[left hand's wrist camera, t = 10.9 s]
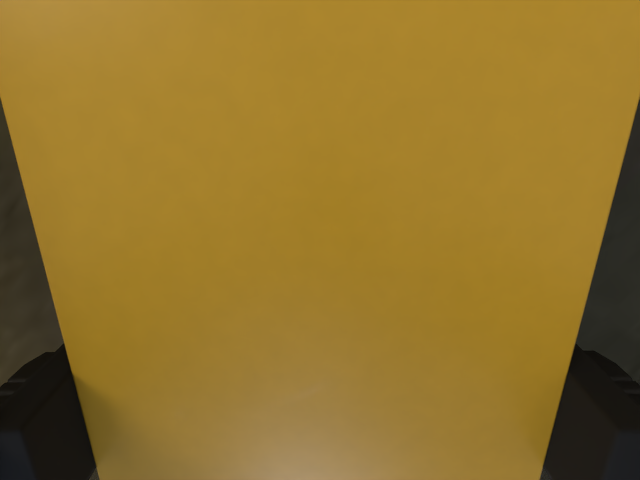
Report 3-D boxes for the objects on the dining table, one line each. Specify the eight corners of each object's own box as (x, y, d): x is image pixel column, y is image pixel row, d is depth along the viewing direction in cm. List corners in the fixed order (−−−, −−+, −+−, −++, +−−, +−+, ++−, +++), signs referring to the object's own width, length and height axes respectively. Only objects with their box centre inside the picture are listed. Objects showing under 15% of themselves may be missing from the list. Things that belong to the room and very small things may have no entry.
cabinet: (163, -191, 13) (-293, -1018, 3) (477, -191, 13) (936, -1017, 3) (216, 323, 20) (115, 545, 10) (423, 323, 20) (523, 546, 10)
